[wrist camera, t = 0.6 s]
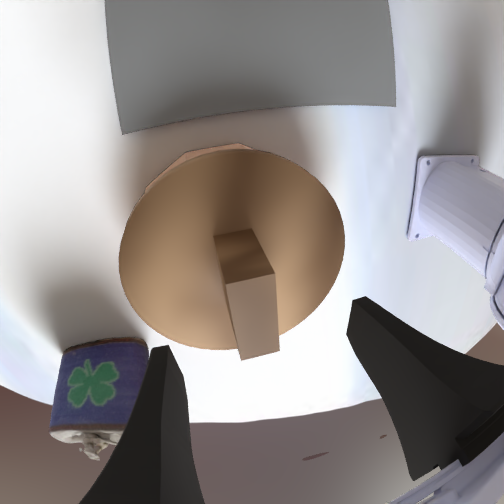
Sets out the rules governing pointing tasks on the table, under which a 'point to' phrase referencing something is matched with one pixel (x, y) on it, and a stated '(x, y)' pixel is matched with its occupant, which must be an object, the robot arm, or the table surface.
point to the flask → (97, 391)
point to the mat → (246, 56)
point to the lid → (231, 251)
